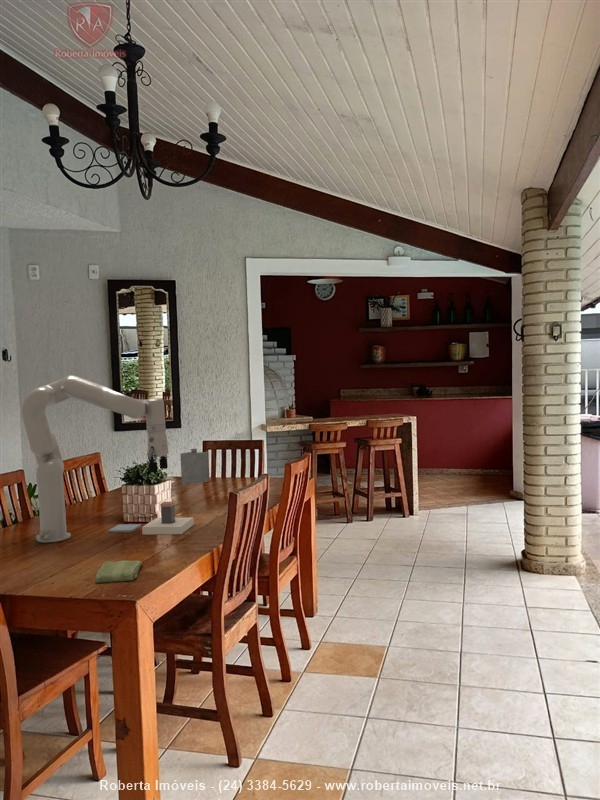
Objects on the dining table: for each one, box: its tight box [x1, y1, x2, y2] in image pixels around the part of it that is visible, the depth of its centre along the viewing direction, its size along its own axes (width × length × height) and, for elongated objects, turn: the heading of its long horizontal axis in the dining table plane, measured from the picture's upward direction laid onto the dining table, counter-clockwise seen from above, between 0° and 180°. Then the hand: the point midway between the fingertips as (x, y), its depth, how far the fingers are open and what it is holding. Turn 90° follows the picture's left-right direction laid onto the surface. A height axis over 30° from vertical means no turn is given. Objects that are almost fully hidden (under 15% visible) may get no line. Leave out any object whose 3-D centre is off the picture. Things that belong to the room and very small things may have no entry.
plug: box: [159, 500, 176, 524], centre depth 268 cm, size 4×4×11 cm
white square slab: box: [141, 517, 195, 536], centre depth 268 cm, size 16×16×3 cm
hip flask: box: [180, 448, 211, 485], centre depth 380 cm, size 16×4×20 cm, turn 92°
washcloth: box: [95, 560, 143, 584], centre depth 210 cm, size 13×18×3 cm
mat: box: [107, 523, 142, 533], centre depth 272 cm, size 10×10×1 cm
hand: (158, 470), depth 271 cm, fingers open, 9 cm apart
